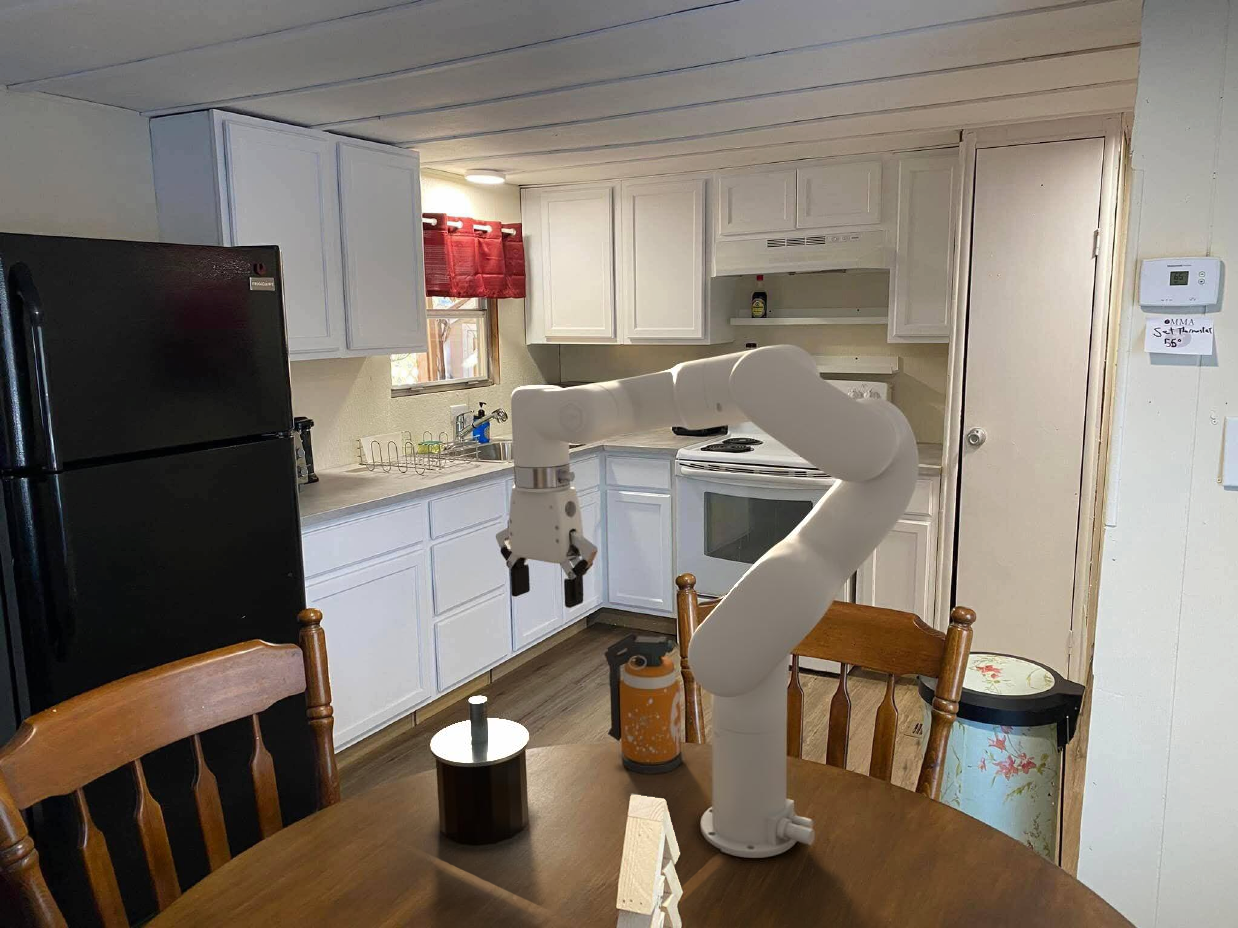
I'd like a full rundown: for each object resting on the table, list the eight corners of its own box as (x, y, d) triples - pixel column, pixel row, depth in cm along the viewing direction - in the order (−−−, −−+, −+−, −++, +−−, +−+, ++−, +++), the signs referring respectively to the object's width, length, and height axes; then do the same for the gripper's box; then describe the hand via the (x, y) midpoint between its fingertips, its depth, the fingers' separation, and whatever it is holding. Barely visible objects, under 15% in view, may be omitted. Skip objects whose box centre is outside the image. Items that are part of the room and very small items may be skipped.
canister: (676, 780, 132) (674, 648, 129) (602, 774, 134) (598, 644, 131) (684, 751, 141) (682, 627, 138) (614, 746, 143) (611, 624, 140)
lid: (549, 741, 121) (547, 693, 120) (480, 781, 111) (477, 729, 110) (480, 719, 129) (477, 673, 128) (410, 754, 118) (406, 705, 117)
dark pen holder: (546, 818, 123) (542, 737, 121) (485, 859, 113) (480, 773, 112) (484, 794, 129) (480, 717, 128) (422, 831, 120) (416, 749, 119)
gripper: (610, 478, 121) (613, 602, 123) (513, 468, 131) (518, 583, 134) (574, 486, 115) (578, 617, 118) (476, 476, 125) (482, 596, 128)
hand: (546, 599), depth 126 cm, fingers open, 9 cm apart
